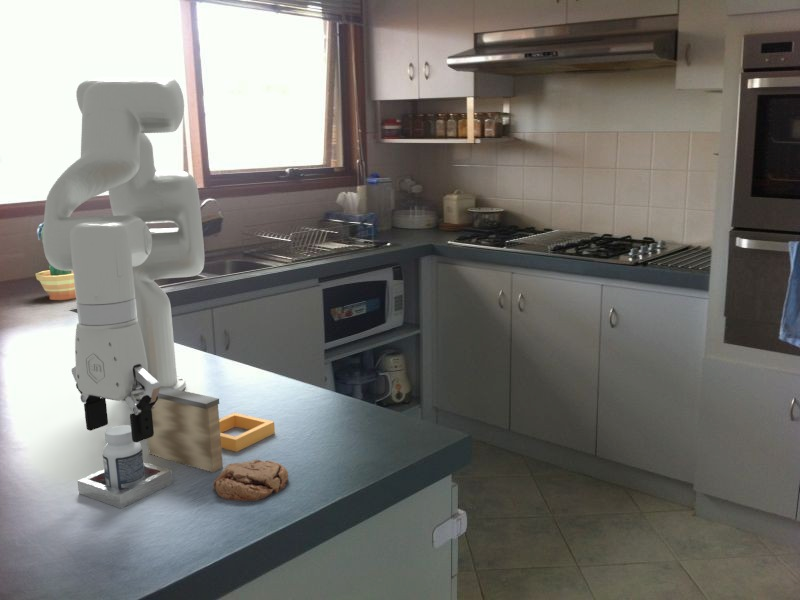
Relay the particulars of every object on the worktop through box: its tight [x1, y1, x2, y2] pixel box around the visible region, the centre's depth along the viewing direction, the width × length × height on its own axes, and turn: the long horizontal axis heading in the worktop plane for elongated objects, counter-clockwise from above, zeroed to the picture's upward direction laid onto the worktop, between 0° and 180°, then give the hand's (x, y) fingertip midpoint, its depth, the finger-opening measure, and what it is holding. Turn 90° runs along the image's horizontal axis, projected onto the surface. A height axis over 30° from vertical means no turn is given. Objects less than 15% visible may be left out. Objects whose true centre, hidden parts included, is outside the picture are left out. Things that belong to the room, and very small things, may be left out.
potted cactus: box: [35, 221, 76, 301], centre depth 248 cm, size 15×15×25 cm
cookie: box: [212, 459, 289, 502], centre depth 113 cm, size 10×11×3 cm
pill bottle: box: [102, 424, 145, 490], centre depth 112 cm, size 5×5×9 cm
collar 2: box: [219, 412, 276, 452], centre depth 131 cm, size 9×9×2 cm
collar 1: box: [77, 461, 174, 509], centre depth 113 cm, size 9×9×2 cm
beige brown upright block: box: [147, 386, 224, 473], centre depth 121 cm, size 14×3×11 cm, turn 57°
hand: (120, 433), depth 111 cm, fingers open, 9 cm apart
